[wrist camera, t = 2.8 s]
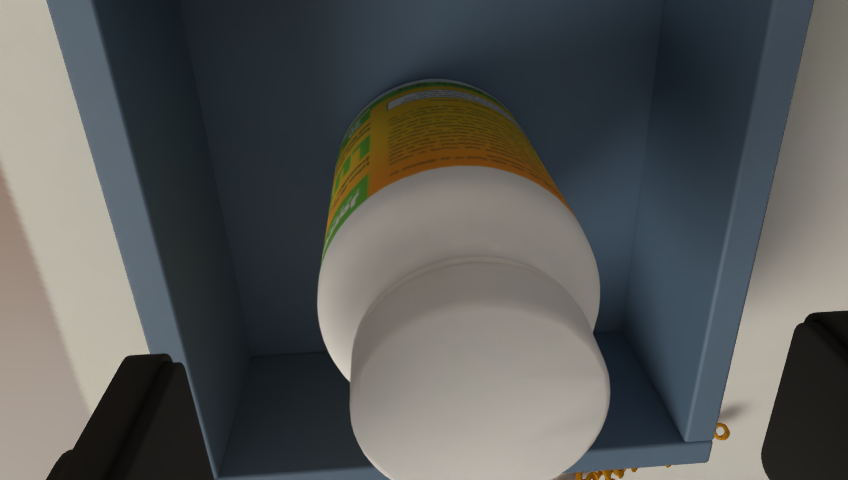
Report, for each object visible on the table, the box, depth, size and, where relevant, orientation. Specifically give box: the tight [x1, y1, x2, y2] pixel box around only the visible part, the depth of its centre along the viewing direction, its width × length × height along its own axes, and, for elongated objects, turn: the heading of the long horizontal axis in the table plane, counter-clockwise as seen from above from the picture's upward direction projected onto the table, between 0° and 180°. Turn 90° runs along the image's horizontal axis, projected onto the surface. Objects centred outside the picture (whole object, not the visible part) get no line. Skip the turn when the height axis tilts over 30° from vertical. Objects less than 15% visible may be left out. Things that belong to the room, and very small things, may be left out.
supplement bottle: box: [317, 79, 610, 480], centre depth 14 cm, size 5×5×10 cm
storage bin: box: [47, 0, 814, 480], centre depth 16 cm, size 14×14×6 cm
